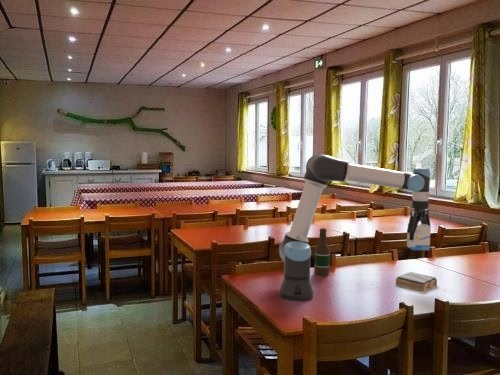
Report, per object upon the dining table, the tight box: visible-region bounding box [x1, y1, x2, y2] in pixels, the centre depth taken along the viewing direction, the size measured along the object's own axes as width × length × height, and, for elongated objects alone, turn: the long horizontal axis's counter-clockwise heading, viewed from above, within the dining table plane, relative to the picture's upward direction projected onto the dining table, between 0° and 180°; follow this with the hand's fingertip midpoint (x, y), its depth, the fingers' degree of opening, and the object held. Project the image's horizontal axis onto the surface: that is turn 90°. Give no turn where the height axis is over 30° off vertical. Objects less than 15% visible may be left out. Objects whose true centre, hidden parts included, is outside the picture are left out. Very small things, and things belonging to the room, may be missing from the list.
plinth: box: [395, 271, 438, 292], centre depth 227 cm, size 14×14×4 cm
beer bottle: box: [313, 228, 331, 277], centre depth 243 cm, size 8×8×24 cm
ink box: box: [406, 222, 432, 251], centre depth 225 cm, size 9×8×12 cm
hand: (418, 244), depth 225 cm, fingers closed on ink box, 11 cm apart
